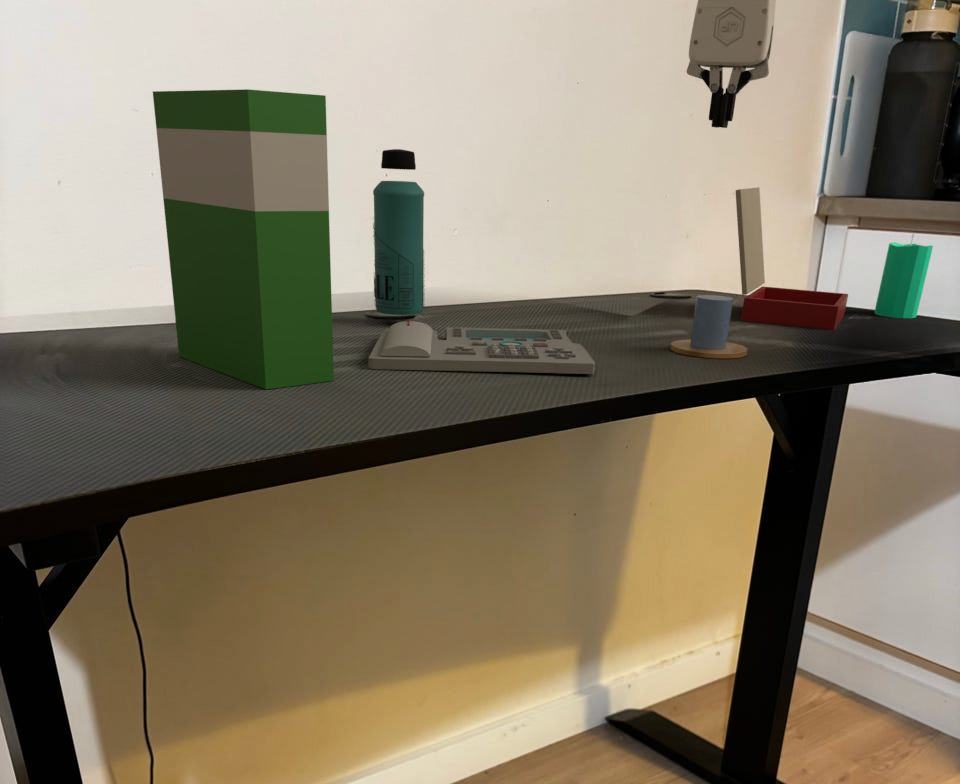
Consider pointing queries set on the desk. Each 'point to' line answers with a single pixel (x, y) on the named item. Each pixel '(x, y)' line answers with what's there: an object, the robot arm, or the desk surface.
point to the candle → (903, 280)
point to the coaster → (709, 350)
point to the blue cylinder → (711, 321)
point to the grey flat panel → (750, 238)
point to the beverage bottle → (398, 240)
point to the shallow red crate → (794, 307)
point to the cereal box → (249, 232)
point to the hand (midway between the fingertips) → (719, 127)
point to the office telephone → (479, 350)
